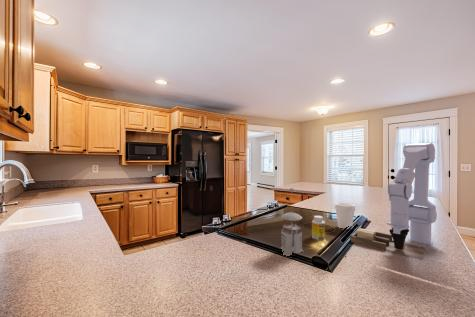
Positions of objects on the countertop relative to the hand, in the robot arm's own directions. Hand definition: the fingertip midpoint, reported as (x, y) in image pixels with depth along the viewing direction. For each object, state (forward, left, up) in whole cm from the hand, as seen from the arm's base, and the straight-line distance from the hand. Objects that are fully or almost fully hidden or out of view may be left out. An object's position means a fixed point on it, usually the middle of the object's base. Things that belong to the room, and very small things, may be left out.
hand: (399, 247), depth 85 cm
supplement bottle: (+9, -29, -2) cm, 30 cm away
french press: (+31, -30, -2) cm, 43 cm away
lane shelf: (-3, -5, -2) cm, 6 cm away
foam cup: (-15, -25, -2) cm, 29 cm away
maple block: (0, -7, -1) cm, 7 cm away
